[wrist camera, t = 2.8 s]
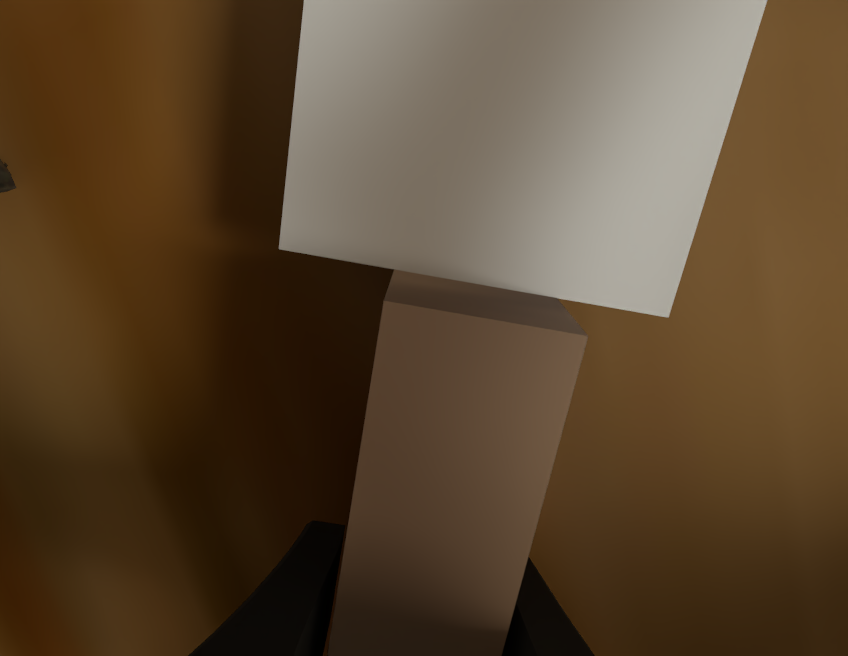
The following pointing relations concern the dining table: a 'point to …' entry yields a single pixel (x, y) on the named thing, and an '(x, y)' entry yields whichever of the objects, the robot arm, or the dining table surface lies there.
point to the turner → (491, 259)
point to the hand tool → (5, 179)
